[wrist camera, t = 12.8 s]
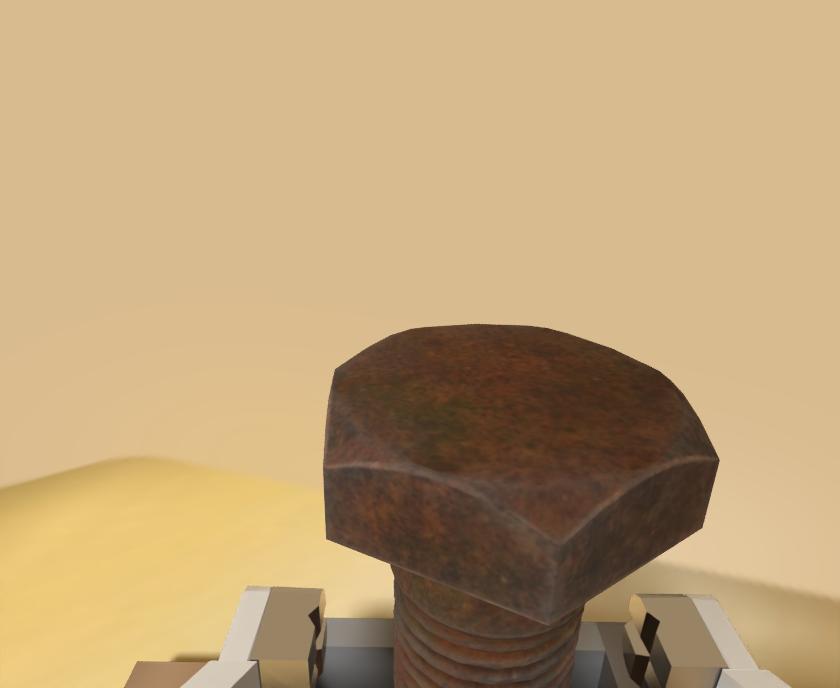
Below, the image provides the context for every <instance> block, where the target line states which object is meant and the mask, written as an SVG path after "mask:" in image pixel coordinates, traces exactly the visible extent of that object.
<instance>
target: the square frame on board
mask: <svg viewBox="0 0 840 688" xmlns="http://www.w3.org/2000/svg"><path fill="white" fill-rule="evenodd" d="M325 619H326V620H327V644H326V655H325V662H324V669H323V673H322V674H321V676H320V677H319V678H318V684H319V688H394V679H393V676H394V669H393V664H394V653H393V651H394V619H369V618H325ZM625 624H627V623H616V622H581V627H580V630H579V637H578V643H577V646H576V649H575V654H574V667H573V670H572V680H571V684H570V687H569V688H640V687H639V686H638V685H637V684H636V683H635V682H634V681H633V680H632V679H631V678H630V677H629V674H628V671H627V668H626V665H625V661H624V656H623V647H622V636H623V630H624V625H625ZM207 663H208V662H143V661H137V663H136V665H135V667H134V669H133V671H132V673H131V675H130V677H129V679H128V681H127V683H126V685H125V687H124V688H180V687H181V686H182V685H183V684H185V683H186V682H187V681H188V680H189V679H190V678H191V677H192V676H193V675H195V674H196V673H197V672H198V671H199V670H200V669H201V668H202V667H204V666H205V665H206V664H207Z"/></svg>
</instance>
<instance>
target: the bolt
mask: <svg viewBox="0 0 840 688" xmlns="http://www.w3.org/2000/svg"><path fill="white" fill-rule="evenodd" d="M719 461H720V460H719V458H718V456H717V453H716V452H715V449H714V447H713V445H712V443H711V441H710V439H709V437H708V435H707V433H706V431H705V429H704V427H703V425H702V423H701V421H700V419H699V417H698V416H697V414H696V413H695V411H694V410H693V408H692V407H691V405H690V403H689V402H688V400H687V399H686V397H685V396H684V394H683V393H682V392H681V391H680V390H679V389H678V388H677V387H676V386H675V385H674V383H673V382H672V381H671V380H670V379H668V378H667V377H666V376H665V375H663V374H662V373H661V372H660V371H658V370H656V369H654V368H652V367H650V366H648V365H646V364H644V363H641V362H639V361H637V360H635V359H633V358H631V357H629V356H627V355H624V354H622V353H620V352H618V351H616V350H614V349H612V348H609V347H606V346H603V345H600V344H597V343H594V342H591V341H588V340H585V339H582V338H579V337H576V336H573V335H570V334H568V333H564V332H560V331H556V330H552V329H548V328H541V327H533V326H520V325H519V326H518V325H489V324H488V325H487V324H468V325H453V326H437V327H423V328H415V329H410V330H407V331H403V332H400V333H397V334H393V335H391V336H389V337H387V338H385V339H383V340H381V341H379V342H377V343H375V344H373V345H371V346H370V347H368V348H366V349H365V350H363V351H362V352H360V353H359V354H357V355H356V356H354V357H353V358H351V359H350V360H348V361H347V362H346V363H344V364H342V365H341V366H339V367H338V368H336V369H335V372H334V376H333V382H332V386H331V391H330V395H329V400H328V410H327V418H326V430H325V446H324V462H323V476H324V499H325V521H326V539H328V540H330V541H333V542H335V543H338V544H340V545H343V546H345V547H348V548H351V549H353V550H356V551H358V552H361V553H363V554H366V555H368V556H371V557H373V558H376V559H379V560H381V561H384V562H386V563H389V564H390V565H391V569H392V572H393V574H394V578H395V579H394V597H395V605H394V651H393V653H394V664H393V669H394V676H393V679H394V688H569V687H570V684H571V680H572V670H573V667H574V654H575V649H576V646H577V643H578V637H579V630H580V627H581V616H582V613H583V611H584V605H585V603H586V602H587V601H589V600H590V599H592V598H593V597H595V596H596V595H598V594H600V593H601V592H603V591H604V590H606V589H607V588H609V587H610V586H612V585H614V584H615V583H617V582H618V581H620V580H621V579H623V578H625V577H626V576H628V575H629V574H631V573H632V572H634V571H636V570H637V569H639V568H640V567H642V566H643V565H645V564H647V563H648V562H650V561H651V560H653V559H654V558H656V557H657V556H659V555H661V554H662V553H664V552H665V551H667V550H668V549H670V548H671V547H673V546H675V545H676V544H678V543H679V542H681V541H683V540H684V539H685V538H687V537H689V536H690V535H692V534H693V533H695V532H697V531H698V530H700V529H701V528H702V527H703V523H704V519H705V515H706V511H707V507H708V504H709V500H710V496H711V492H712V488H713V484H714V480H715V476H716V472H717V469H718V465H719Z"/></svg>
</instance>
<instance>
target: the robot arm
mask: <svg viewBox="0 0 840 688" xmlns="http://www.w3.org/2000/svg"><path fill="white" fill-rule="evenodd" d="M325 605H326V599H325V590H324V589H315V588H293V587H260V586H247V588H246V589H245V590H244V592H243V593H242V596H241V599H240V602H239V604H238V607H237V610H236V613H235V615H234V618H233V621H232V624H231V626H230V629H229V632H228V635H227V637H226V640H225V643H224V646H223V649H222V651H221V654H220V657H219V660H210V661H209V662H208V663H207V664H206V665H205V666H204V667H202V668H201V669H200V670H199V671H198V672H197V673H196V674H195V675H193V676H192V677H191V678H190V679H189V680H188V681H187V682H186V683H185V684H183V685H182V686H181V687H180V688H319V684H318V678H319V677H320V676H321V674H322V673H323V669H324V662H325V655H326V644H327V620H326V619H325V618H324V617H323V616H324V611H325ZM628 609H629V611H630V614H631V616H632V619H631V620H630V621H629V622H628V623H627V624H625V625H624V630H623V636H622V647H623V656H624V661H625V665H626V668H627V671H628V674H629V677H630V678H631V679H632V680H633V681H634V682H635V683H636V684H637V685H638V686H639V687H640V688H792V687H790V686H789V685H788V684H786V683H785V682H784V681H782V680H781V679H780V678H778V677H777V676H775V675H774V674H773V673H771V672H770V671H769V670H761V669H759V667H758V666H757V664H756V662H755V661H754V659H753V657H752V656H751V654H750V653H749V651H748V649H747V648H746V646H745V644H744V643H743V641H742V640H741V638H740V636H739V635H738V633H737V631H736V630H735V628H734V626H733V625H732V623H731V622H730V620H729V618H728V617H727V615H726V613H725V612H724V610H723V609H722V607H721V605H720V604H719V602H718V600H717V599H716V598H715V597H713V596H712V595H682V594H634V595H633V596H632V598H631V600H630V604H629V608H628Z"/></svg>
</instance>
